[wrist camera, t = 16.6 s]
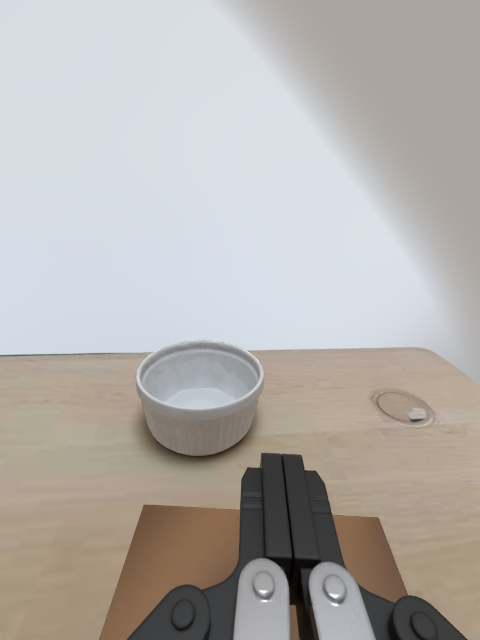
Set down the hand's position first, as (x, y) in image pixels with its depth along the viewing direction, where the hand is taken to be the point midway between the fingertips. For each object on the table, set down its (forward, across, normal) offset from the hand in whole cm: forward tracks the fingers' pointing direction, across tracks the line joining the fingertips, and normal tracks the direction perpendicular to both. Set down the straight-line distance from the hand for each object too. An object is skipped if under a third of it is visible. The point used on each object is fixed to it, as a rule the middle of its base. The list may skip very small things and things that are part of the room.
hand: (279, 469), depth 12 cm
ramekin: (+19, -6, -15) cm, 25 cm away
